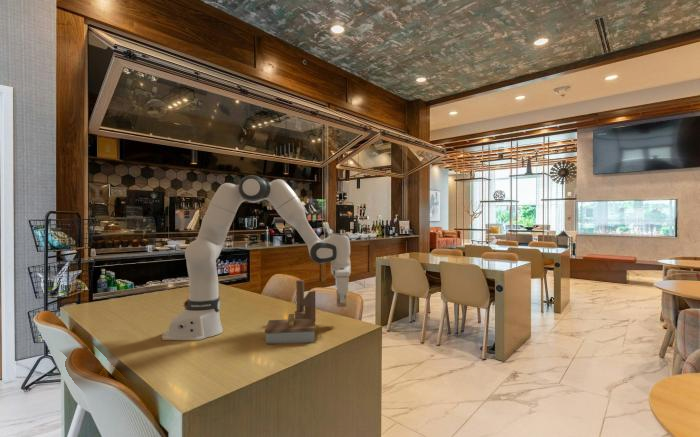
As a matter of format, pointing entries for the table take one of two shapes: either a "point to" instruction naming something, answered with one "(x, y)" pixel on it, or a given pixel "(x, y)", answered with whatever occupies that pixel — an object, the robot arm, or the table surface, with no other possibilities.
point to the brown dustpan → (304, 302)
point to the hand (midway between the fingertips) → (341, 300)
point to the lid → (290, 325)
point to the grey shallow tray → (289, 337)
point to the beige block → (339, 301)
